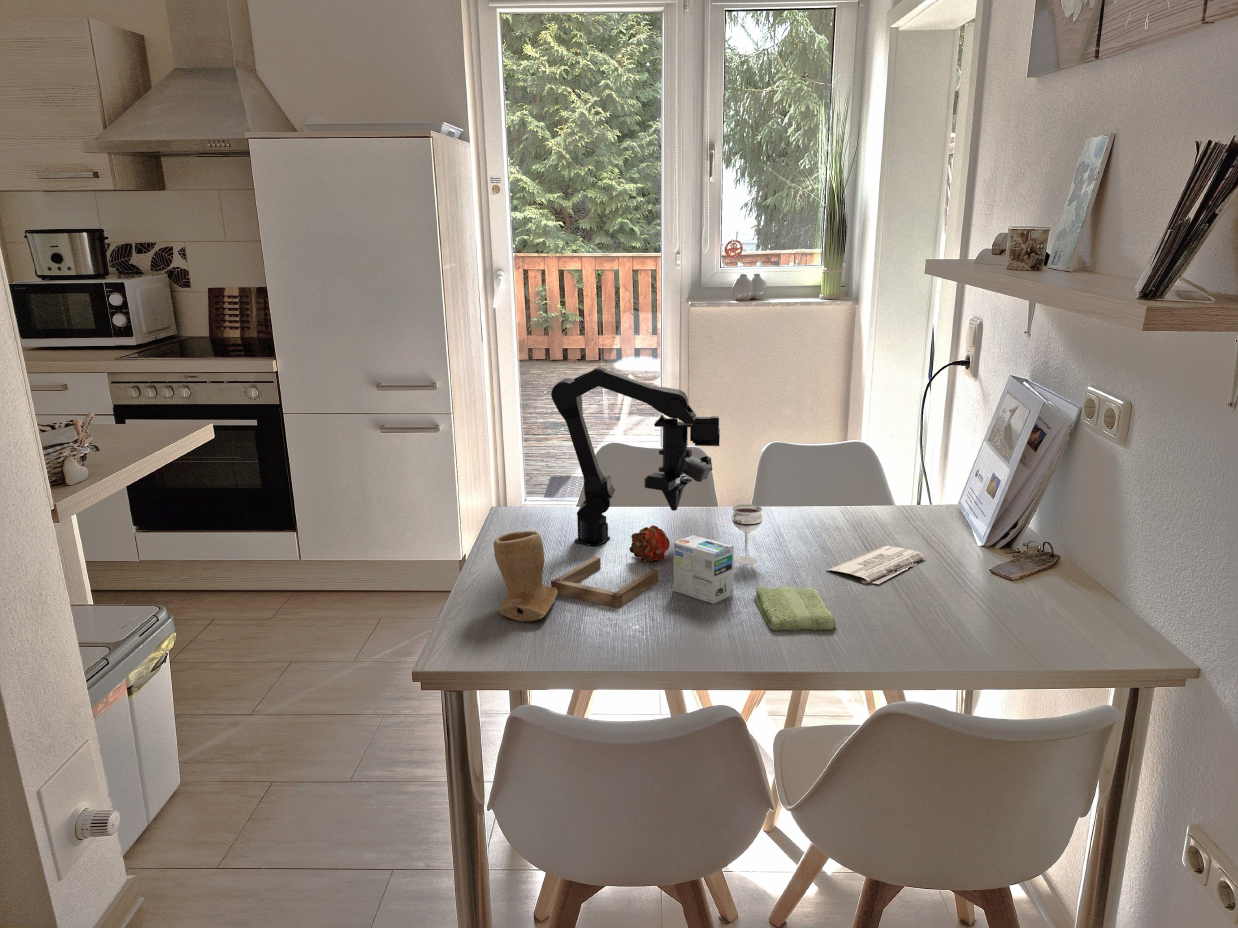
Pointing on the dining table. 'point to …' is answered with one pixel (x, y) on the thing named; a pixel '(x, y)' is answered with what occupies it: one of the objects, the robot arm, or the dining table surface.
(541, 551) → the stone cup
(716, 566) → the light bulb box
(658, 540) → the dragon fruit
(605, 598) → the frame
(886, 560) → the newspaper
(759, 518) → the wineglass
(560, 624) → the dining table surface
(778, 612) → the washcloth
